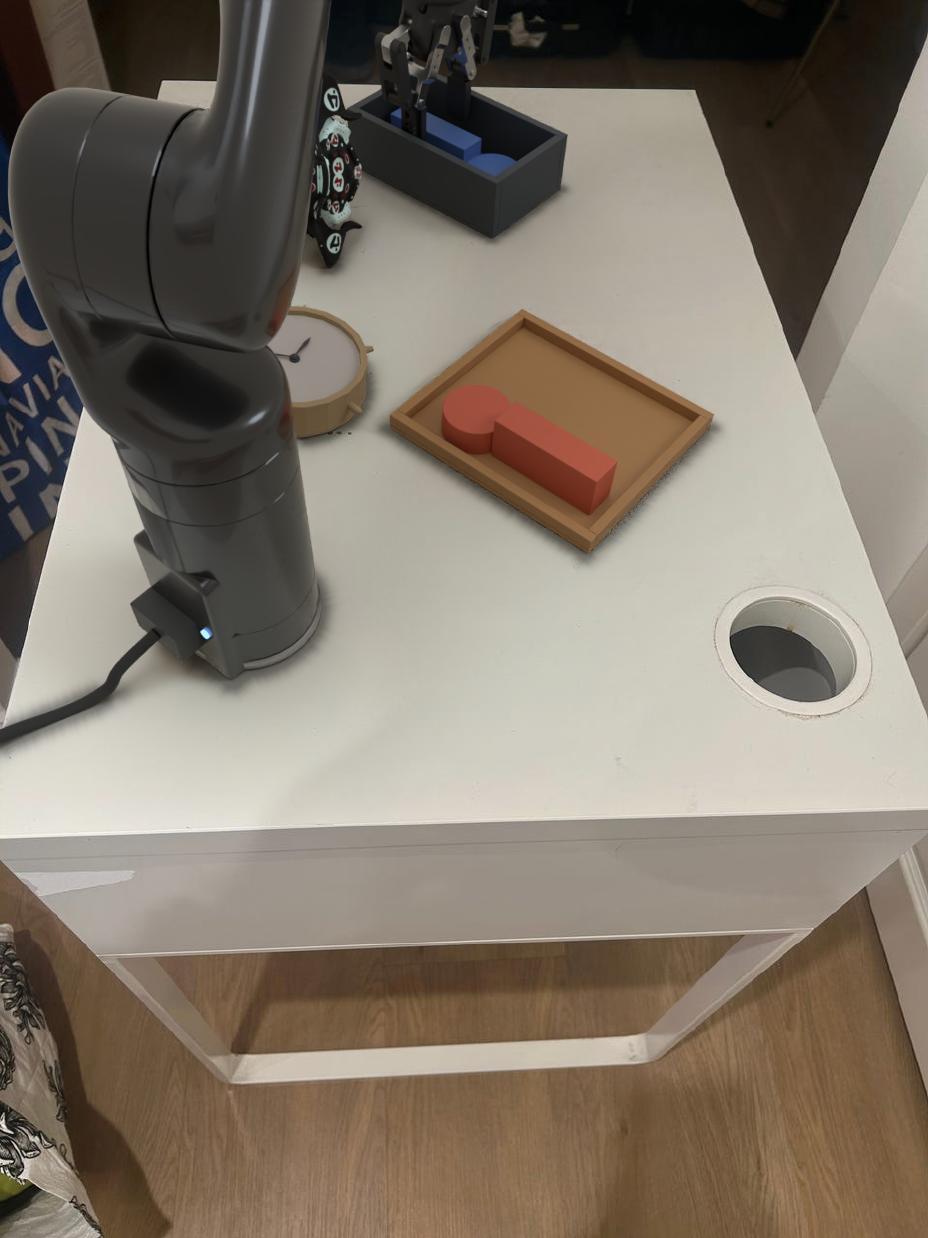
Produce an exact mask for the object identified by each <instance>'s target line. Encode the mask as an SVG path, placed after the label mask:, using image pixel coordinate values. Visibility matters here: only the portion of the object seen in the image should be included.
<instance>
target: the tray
mask: <svg viewBox="0 0 928 1238" xmlns="http://www.w3.org/2000/svg"><path fill="white" fill-rule="evenodd" d="M467 385H484V386H488V387H492V388H494V389H496V390H498V391H500V392H501V393H502V394H504V395H505V396H506V397H507V399H508V400H509V402H510V404H511V405H513V404H514V403H515V402H518V403H520V404H521V405H523V406H525V407H526V408H528V409H530V410H531V411H533V412H535V413H537V414H538V415H540V416H542V417H543V418H545V419H547V420H548V421H550V422H552V423H553V424H555V425H557V426H558V427H560V428H562V429H564V430H565V431H567V432H569V433H570V434H572V435H574V436H575V437H577V438H579V439H580V440H582V441H584V442H586V443H587V444H589V445H591V446H592V447H594V448H596V449H597V450H599V451H601V452H602V453H604V454H606V455H608V456H609V457H611V458H613V459H614V460H616V461H617V466H616V470H615V474H614V478H613V482H612V486H611V490H610V494H609V496H608V497H607V498H606V499H605V500H604V501H603V502H602V503H601V504H600V505H599V506H598V507H597V508H596V509H595V510H594V511H593V512H592V513H591V514H590V515H587V514H586V513H584V512H582V511H581V510H579V509H578V508H576V507H574V506H573V505H571V504H569V503H568V502H566V501H565V500H563V499H561V498H560V497H558V496H557V495H555V494H553V493H552V492H550V491H549V490H547V489H545V488H544V487H542V486H540V485H539V484H537V483H536V482H534V481H532V480H531V479H529V478H528V477H526V476H524V475H523V474H521V473H520V472H518V471H516V470H515V469H513V468H511V467H510V466H508V465H507V464H505V463H503V462H502V461H500V460H499V459H497V458H495V457H494V456H492V455H491V452H490V453H486V454H469V453H465V452H463V451H462V450H460V449H459V448H457V447H455V446H454V445H452V444H451V443H449V442H447V441H446V440H445V438H444V436H443V434H442V406H443V402H444V400H445V398H446V397H447V396H448V395H449V394H450V393H451V392H452V391H454V390H455V389H457V388H460V387H463V386H467ZM714 417H715V414H714V413H712V412H711V411H709V410H707V409H705V408H704V407H702V406H700V405H698V404H696V403H695V402H693V401H691V400H689V399H687V398H686V397H684V396H683V395H680V394H678V393H676V392H674V391H673V390H671V389H669V388H667V387H665V386H664V385H662V384H660V383H658V382H656V381H655V380H653V379H651V378H649V377H648V376H645V375H643V374H642V373H640V372H638V371H636V370H635V369H634V368H631V367H629V366H628V365H626V364H623V363H622V362H620V361H618V360H616V359H614V358H613V357H611V356H609V355H607V354H606V353H604V352H602V351H600V350H598V349H597V348H595V347H593V346H591V345H590V344H587V343H586V342H584V341H582V340H580V339H578V338H577V337H575V336H573V335H571V334H569V333H567V332H566V331H563V330H562V329H560V328H559V327H556V326H554V325H553V324H551V323H549V322H547V320H544V319H542V318H540V317H538V316H536V315H535V314H533V313H531V312H529V311H527V310H526V309H524V308H521V309H520V310H519V311H518V312H516V313H515V314H514V315H513V316H511V317H510V318H509V319H507V320H506V321H505V322H503V324H501V325H500V326H498V327H497V328H496V329H495V330H494V331H492V332H491V333H490V334H488V336H486V337H485V338H484V339H483V340H482V341H480V342H479V343H477V344H476V345H475V346H474V347H472V348H471V349H470V350H469V351H467V352H466V353H465V354H464V355H462V356H461V357H460V358H459V359H458V360H456V361H454V363H452V364H451V365H450V366H448V367H447V368H446V369H445V370H444V371H442V372H441V373H440V374H439V375H438V376H436V377H435V378H434V379H432V380H431V381H430V382H429V383H428V384H426V385H425V386H424V387H422V388H421V389H420V390H418V391H417V392H416V393H415V394H413V395H412V396H411V397H410V398H409V399H407V400H406V401H405V402H403V404H401V405H400V406H398V407H397V408H396V409H394V410H393V411H392V412H391V413H390V414H389V428H390V429H391V430H392V431H394V432H396V433H397V434H399V435H401V436H402V437H404V438H405V439H407V440H408V441H409V442H411V443H413V444H414V445H416V446H418V447H419V448H421V449H422V450H424V451H425V452H427V453H428V454H429V455H430V454H431V455H432V456H433V457H435V458H436V459H439V460H440V461H441V462H443V463H444V464H446V465H448V467H451V468H452V469H453V470H456V471H457V472H458V473H460V474H462V475H464V476H465V477H467V478H468V479H470V480H471V481H473V482H474V483H476V484H478V485H479V486H481V487H483V489H485V490H487V491H489V492H490V493H491V494H493V495H494V496H496V497H498V498H499V499H501V500H503V501H504V502H506V503H507V504H509V505H510V506H512V507H513V508H515V509H517V510H518V511H520V513H521V512H522V513H523V514H524V515H526V516H527V517H529V518H531V519H533V520H534V521H536V522H537V523H539V524H540V525H541V526H543V527H545V528H547V529H548V530H549V531H551V532H553V533H554V534H556V535H558V536H559V537H560V538H562V539H564V540H565V541H567V542H569V543H570V544H572V545H573V546H575V547H576V548H578V549H579V550H581V551H582V552H584V553H586V554H590V552H592V550H593V549H594V548H596V546H597V545H598V544H599V543H600V542H602V540H603V539H604V538H605V537H606V536H607V535H608V534H609V533H610V532H611V531H612V530H613V528H615V527H616V526H617V525H618V524H619V522H621V520H623V518H624V517H625V516H627V514H628V513H629V512H630V511H632V509H633V508H634V507H635V506H636V505H637V503H638V502H640V501H641V500H642V498H643V497H644V496H645V495H646V494H647V493H648V492H649V491H650V490H651V489H652V488H653V487H654V486H655V485H656V484H657V483H658V482H659V480H661V479H662V478H663V476H665V474H667V473H668V471H670V469H671V468H672V467H673V466H674V465H675V464H676V463H677V462H678V461H679V460H680V459H681V458H682V457H683V456H684V455H685V454H686V452H688V451H689V450H690V448H692V446H693V445H695V443H696V442H697V441H698V440H699V439H700V438H701V437H702V436H703V435H704V434H705V433H706V432H707V431H708V430H709V429H710V428H711V425H712V422H713V420H714Z"/></svg>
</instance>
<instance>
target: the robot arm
mask: <svg viewBox="0 0 928 1238" xmlns="http://www.w3.org/2000/svg"><path fill="white" fill-rule="evenodd" d="M401 1H402V2H401V4H402V6H401V12H400V13H401V14H400V16H399V19H398V27H396V28H395V29H394V30H393V31H391V32H390V33H389V34H387V33H385V32H383V31H379V32H377V34H376V35H375V37H374V49H375V55H376V62H377V68H378V75H379V83H380V89H382V95H383V99H384V100H385V101H387V102H389V103H392V104H394V105H396V106H398V107H400V108H401V123H402V124H401V127H402V128H401V130H403V131H405V132H407V133H409V134H411V135H413V136H415V137H417V138H419V139H421V140H423V141H425V142H426V117H427V107H426V106H425V103H426V99H427V95H428V91H429V87H430V84H431V83H432V82H434V81H435V80H436V78H437V75H438V74H439V70H440V67H441V64H442V62H443V61H444V60H445V62H446V66H447V69H448V71H449V72H450V73H449V74H447V76H446V78H447V105H446V111H447V114H448V116H450V117H451V118H454V119H456V120H458V121H460V122H463V121H464V120H466V119H468V117H469V109H470V104H471V99H470V98H471V90H472V80H474V79H475V77H476V75H477V69H478V67H479V66H482V67H485V66H486V65H487V63H488V62H489V58H490V52H491V47H492V40H493V33H494V28H495V27H494V26H495V20H496V19H495V18H496V13H497V7H498V0H401ZM331 8H332V0H219V20H220V21H219V26H220V33H219V55H218V68H217V76H216V83H215V89H214V95H213V98H212V102H211V104H210V107H209V108H204V107H199V106H194V105H188V104H182V103H177V102H173V101H166V100H160V99H155V98H150V97H144V96H138V95H133V94H127V93H122V92H116V91H112V90H111V91H110V90H104V89H97V88H90V87H64V88H60V89H57V90H54V91H51V92H49V93H47V94H46V95H44V96H42V97H41V98H40V99H38V100H37V101H35V103H34V104H33V105H32V106H31V107H30V108H29V110H27V112H26V113H25V115H24V117H23V118H22V120H21V121H20V124H19V126H18V128H17V132H16V134H15V137H14V139H13V143H12V147H11V151H10V156H9V161H8V162H9V163H8V178H7V197H8V210H9V218H10V222H11V228H12V229H11V230H12V233H13V238H14V243H15V247H16V251H17V255H18V258H19V259H18V260H19V261H20V264H21V268H22V270H23V273H24V276H25V279H26V281H27V284H28V287H29V289H30V292H31V294H32V297H33V299H34V301H35V303H36V306H37V308H38V310H39V313H40V316H41V318H42V319H43V322H44V323H45V326H46V328H47V330H48V332H49V335H50V336H51V338H52V341H53V343H54V345H55V347H56V349H57V351H58V354H59V356H60V358H61V360H62V363H63V364H64V367H65V370H66V371H67V373H68V375H69V378H70V380H71V382H72V385H73V386H74V389H75V391H76V393H77V396H78V398H79V400H80V402H81V404H82V405H83V407H84V409H85V410H86V413H87V414H88V416H90V418H91V419H92V421H94V423H95V424H96V425H97V426H99V428H100V429H101V430H103V431H104V432H105V433H106V434H108V435H109V436H110V438H111V442H112V444H113V447H114V449H115V451H116V454H117V456H118V459H119V462H120V465H121V468H122V470H123V473H124V476H125V479H126V481H127V485H128V488H129V490H130V493H131V496H132V499H133V501H134V504H135V507H136V510H137V513H138V516H139V518H140V521H141V524H142V526H143V529H142V530H140V531H139V532H138V533H137V534H135V535H134V536H133V540H132V541H133V544H134V546H135V549H136V552H137V555H138V557H139V560H140V562H141V565H142V567H143V571H144V573H145V575H146V578H147V580H148V583H149V585H150V586H149V588H147V589H146V590H145V591H144V592H142V593H141V594H139V595H138V596H137V597H136V598H135V599H133V600H132V601H131V602H130V603H129V605H130V607H131V610H132V613H133V615H134V617H135V620H136V622H137V624H138V627H140V628H141V629H142V630H143V631H145V632H146V633H145V635H143V636H142V638H140V639H139V640H138V641H137V642H136V643H134V645H133V646H131V648H129V649H128V650H127V651H126V652H125V653H124V654H123V655H122V656H121V657H120V658H119V660H118V661H117V662H116V663H115V664H114V665H113V666H112V668H111V669H110V671H109V673H108V674H107V677H106V680H105V681H104V682H103V683H102V684H101V685H99V686H98V687H97V688H96V689H94V690H93V691H91V692H89V693H88V694H86V695H85V696H82V697H81V698H79V699H77V700H74V701H73V702H71V703H70V702H69V703H68V704H66V705H63V706H61V707H58V708H55V709H53V710H50V711H46V712H44V713H41V714H38V715H35V716H32V717H29V718H26V719H23V720H20V721H18V722H15V723H12V724H10V725H9V724H8V725H7V726H5V727H2V728H0V744H2V743H5V742H8V741H9V740H11V739H14V738H17V737H20V736H22V735H25V734H27V733H30V732H33V731H36V730H39V729H42V728H45V727H47V726H50V725H52V724H54V723H57V722H60V721H62V720H65V719H67V718H71V717H72V716H74V715H77V714H79V713H82V712H85V711H86V710H88V709H91V708H93V707H94V706H96V705H97V704H100V703H101V702H102V701H104V700H105V699H107V698H108V697H110V696H111V695H112V694H113V693H114V692H115V691H116V690H117V688H118V686H119V685H120V682H121V680H122V677H123V676H124V675H125V673H126V672H127V671H128V670H129V669H130V668H131V667H132V666H133V665H134V664H135V663H136V662H137V661H138V660H139V659H140V658H141V657H142V656H143V655H144V654H145V653H146V652H147V651H149V650H150V649H151V648H152V647H153V646H154V645H155V644H156V643H157V642H158V643H159V644H160V645H162V646H163V647H164V648H165V649H166V650H168V652H170V653H171V654H172V655H174V656H175V657H176V658H177V659H179V660H180V661H181V662H182V663H185V662H186V661H187V660H188V659H190V657H191V656H193V655H194V654H195V655H196V656H198V657H199V658H201V659H202V660H203V661H206V663H208V664H210V665H211V666H212V667H213V668H214V669H216V670H217V671H218V672H219V673H220V674H222V676H224V677H225V678H227V679H229V680H233V679H235V678H236V677H238V675H239V674H240V673H242V672H243V671H245V670H252V669H259V668H264V667H268V666H271V665H274V664H276V663H279V662H281V661H283V660H285V659H287V658H289V657H290V656H292V655H294V654H295V653H296V652H298V651H299V650H300V649H301V648H303V646H305V644H307V642H308V641H309V639H311V637H312V635H313V634H314V632H315V630H316V629H317V626H318V624H319V622H320V618H321V613H322V596H321V595H322V594H321V591H320V590H321V589H320V586H319V583H318V580H317V573H316V565H315V564H316V563H315V559H314V558H315V557H314V552H313V545H312V537H311V529H310V523H309V517H308V510H307V509H308V508H307V504H306V503H307V501H306V496H305V495H306V494H305V488H304V482H303V481H304V479H303V473H302V465H301V460H300V452H299V451H300V450H299V444H298V437H297V436H296V429H295V422H294V415H293V408H292V401H291V394H290V387H289V383H288V379H287V375H286V372H285V370H284V368H283V366H282V364H281V362H280V360H279V359H278V357H277V356H276V354H275V353H274V352H273V351H272V349H271V348H270V347H269V346H268V345H267V344H269V343H270V342H271V341H272V340H273V339H274V337H275V336H276V335H277V333H278V332H279V330H280V328H281V326H282V324H283V322H284V320H285V318H286V316H287V314H288V311H289V308H290V306H292V302H293V299H294V296H295V293H296V289H297V285H298V281H299V276H300V273H301V267H302V263H303V257H304V251H305V246H306V245H305V244H306V237H307V233H306V231H307V223H308V215H309V206H310V198H311V190H312V180H313V170H314V160H315V151H316V141H317V131H318V121H319V111H320V102H321V92H322V82H323V72H324V71H325V61H326V51H327V41H328V32H329V23H330V15H331ZM475 34H477V35H478V36H479V43H478V46H476V45H475V43H474V41H475V36H476V35H475ZM414 58H416V59H418V60H420V61H421V62H423V63H426V65H425V67H424V66H422V65H419V64H417V63H416V62H415V59H414ZM421 66H422V67H421ZM423 67H424V68H423ZM413 76H415V77H417V78H418V84H417V88H416V91H414V90H411V84H412V80H413ZM395 84H396V86H397V88H395Z"/></svg>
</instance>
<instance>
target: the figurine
mask: <svg viewBox="0 0 928 1238" xmlns="http://www.w3.org/2000/svg"><path fill="white" fill-rule="evenodd" d="M335 116H338V117H340V118H341V119H342V120H344V121H346V122H347V121H355V120H357V119H359V118H361V117H362V114H361V113H359V112H358V113H351V112H349V111H347V108H346V106H345V103H344V99H343V96H342V93H341V89H340V86H339V84H338V82H337V80H336V78H335V77H334V75H333V74H332V73H331V72H330V71H329V70H324V72H323V82H322V92H321V102H320V111H319V121H318V131H317V141H316V151H315V160H314V170H313V180H312V190H311V198H310V206H309V215H308V223H307V231H306V235H308V236H309V237H310V238H312V239H314V240H315V242H316V245H317V248H318V251H319V253H320V256H321V257H322V260H323V263H324V265H325V266H326V267H327V268H328V269H331V268H333V267H334V266H335V265H336V264H337V262H338V261H339V259H340V256H341V254H342V250H343V247H344V243H345V240H346V235H347V233H349V231H351V230H362V229H363V225H362V224H361V223H359V222H357V221H354V220H347V219H348V218H349V217H350V215H351V214H352V209H351V207H350V203H351V202H353V200H354V199H355V196H356V194H357V191H358V188H359V187H360V182H359V181H361V180H362V178H363V177H362V175H363V174H362V171H363V170H362V169H361V164H359V159H358V157H357V155H356V152H355V150H354V148H353V146H352V144H350V143H349V135H350V133H351V131H350V129H349V128H348V125H345V124H344V123H343V122H341V121H339V120H336V119H334V117H335ZM339 224H341V226H340V227H339V229H336V228H333V226H334V225H339Z"/></svg>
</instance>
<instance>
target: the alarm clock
mask: <svg viewBox="0 0 928 1238" xmlns="http://www.w3.org/2000/svg"><path fill="white" fill-rule="evenodd" d="M267 345H268V346H269V347H270V348H271V349H272V351H273V352H274V353H275V354H276V356H277V357H278V359H279V360H280V362H281V364H282V366H283V368H284V370H285V372H286V375H287V379H288V383H289V387H290V394H291V401H292V408H293V415H294V422H295V429H296V436H297V438H307V437H312V436H317V435H321V434H326V433H329V432H331V431H333V430H335V429H337V428H340V427H341V426H344V425H345V424H347V423H348V422H350V420H351V419H352V418H353V417H354V416H355V415H358V416H362V415H363V414H364V410H363V409H362V406H363V403H364V401H365V399H366V396H367V372H368V365H369V363H368V354H370V353H372V352H374V350H375V349H374V346H373V345H365V343H364V341H363V339H362V337H361V335H360V333H358V332H357V330H355V329H354V328H353V327H352V326H351V325H349V324H348V323H347V322H346V321H345V320H343V319H341V318H339V317H338V316H335V315H333V314H332V313H330V312H327V311H324V310H320V309H316V308H312V307H307V306H301V305H299V306H298V305H296V306H295V305H290V308H289V311H288V314H287V316H286V318H285V320H284V322H283V324H282V326H281V328H280V330H279V332H278V333H277V335H276V336H275V337H274V339H273V340H272V341H271V342H270V343H269V344H267Z"/></svg>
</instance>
